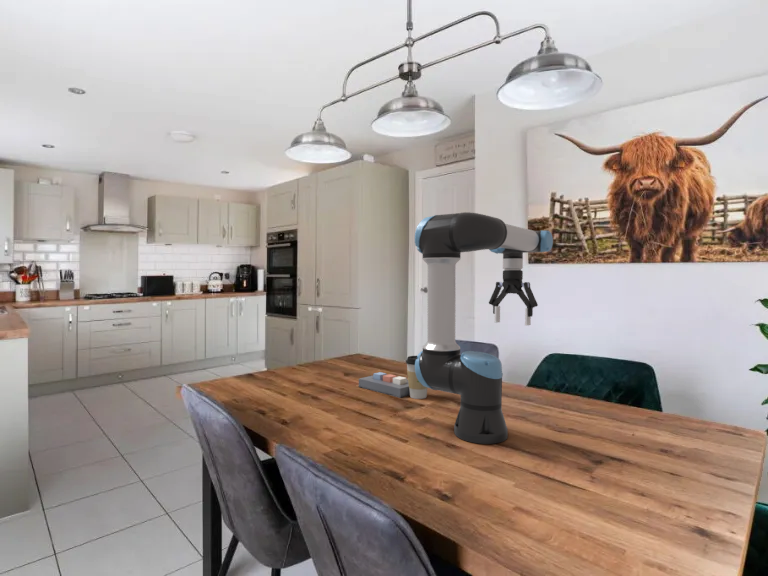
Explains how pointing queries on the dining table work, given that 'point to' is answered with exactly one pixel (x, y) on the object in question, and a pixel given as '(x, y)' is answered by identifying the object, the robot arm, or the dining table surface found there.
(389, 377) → the key red
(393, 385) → the console
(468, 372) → the robot arm
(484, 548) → the dining table surface
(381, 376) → the key blue
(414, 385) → the coffee cup
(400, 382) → the key ivory
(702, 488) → the dining table surface
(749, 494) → the dining table surface
